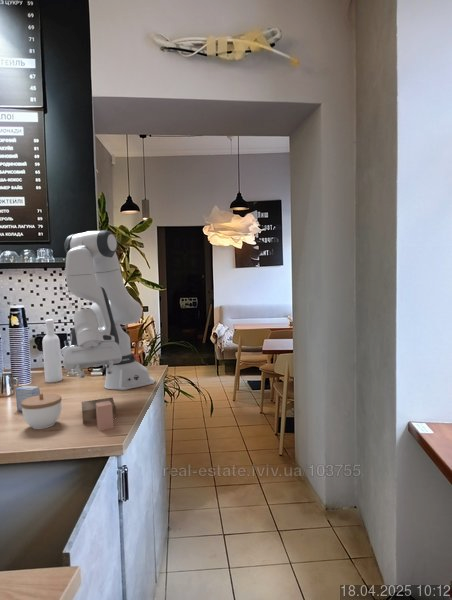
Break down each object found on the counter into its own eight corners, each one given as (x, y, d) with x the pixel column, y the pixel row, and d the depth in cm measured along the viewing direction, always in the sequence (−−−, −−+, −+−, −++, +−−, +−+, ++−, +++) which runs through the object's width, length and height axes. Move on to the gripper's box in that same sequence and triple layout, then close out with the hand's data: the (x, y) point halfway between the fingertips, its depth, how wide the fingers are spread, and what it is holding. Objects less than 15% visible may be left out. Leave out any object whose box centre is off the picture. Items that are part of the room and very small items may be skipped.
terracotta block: (110, 423, 143) (109, 400, 142) (113, 428, 139) (112, 404, 138) (97, 426, 141) (95, 403, 140) (99, 430, 137) (97, 406, 136)
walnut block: (113, 410, 158) (112, 397, 157) (116, 419, 147) (115, 405, 147) (82, 415, 154) (81, 401, 154) (83, 425, 144) (82, 410, 143)
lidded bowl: (22, 435, 136) (19, 401, 135) (23, 423, 148) (21, 392, 147) (64, 427, 141) (61, 395, 140) (62, 416, 152) (60, 386, 152)
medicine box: (41, 408, 163) (40, 386, 163) (33, 412, 159) (31, 389, 158) (25, 407, 166) (24, 385, 165) (16, 410, 162) (14, 388, 161)
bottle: (41, 381, 205) (37, 320, 203) (56, 377, 212) (51, 318, 210) (51, 383, 201) (46, 320, 199) (65, 379, 207) (61, 318, 205)
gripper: (60, 341, 150) (65, 374, 142) (118, 335, 159) (125, 365, 151) (60, 352, 154) (64, 384, 146) (116, 345, 163) (123, 375, 155)
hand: (96, 374), depth 149 cm, fingers open, 8 cm apart
